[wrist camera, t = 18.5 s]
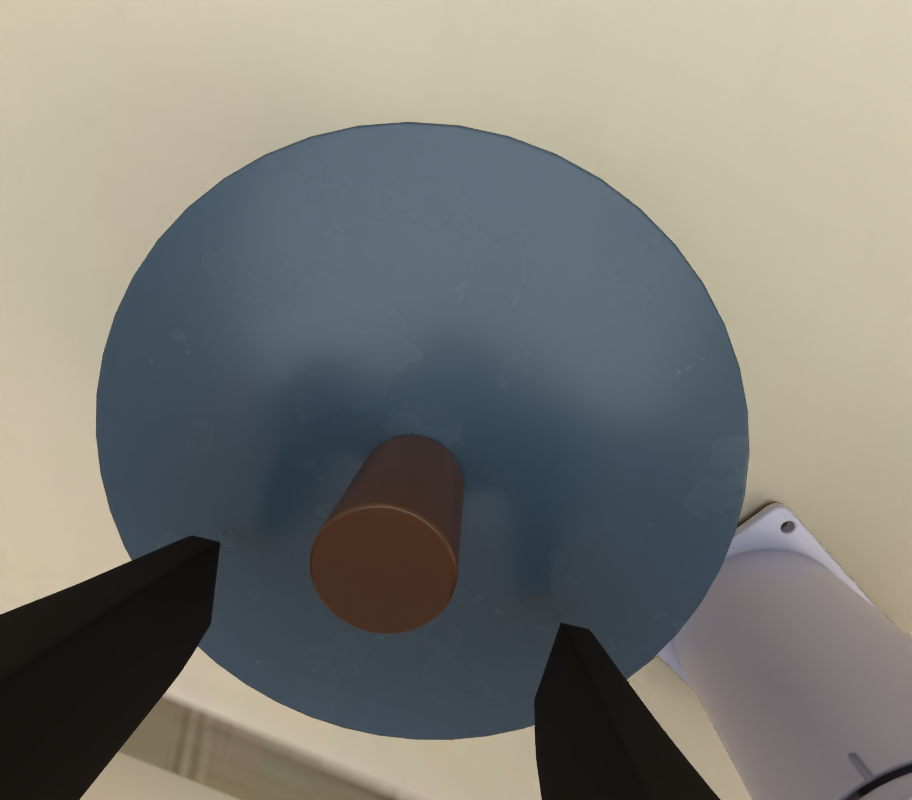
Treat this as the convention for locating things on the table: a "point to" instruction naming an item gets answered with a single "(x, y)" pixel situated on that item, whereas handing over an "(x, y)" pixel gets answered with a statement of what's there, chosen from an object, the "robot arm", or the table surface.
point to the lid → (424, 424)
